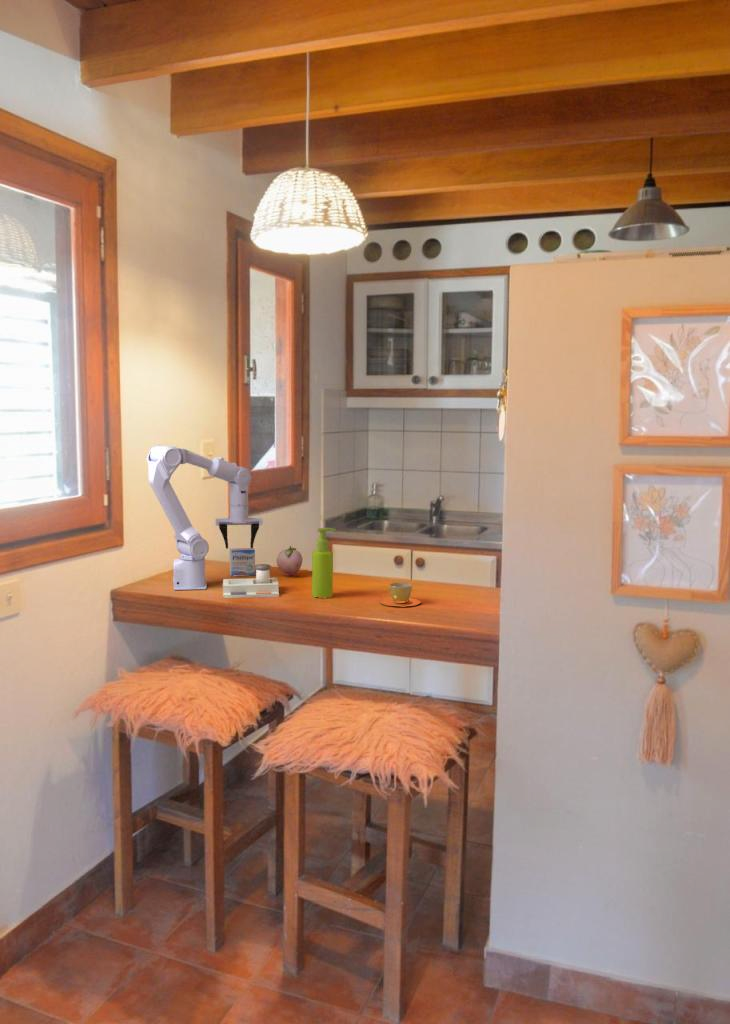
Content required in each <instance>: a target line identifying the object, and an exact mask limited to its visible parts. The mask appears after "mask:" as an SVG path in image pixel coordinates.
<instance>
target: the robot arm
mask: <svg viewBox="0 0 730 1024" xmlns="http://www.w3.org/2000/svg"><path fill="white" fill-rule="evenodd" d="M146 461H147V465H148V484H149V485H150V487H151V489H152V491H153V492H154V495H155V496H156V499H157V500H158V502H159V504H160V505H161V508H162V510H163V512H164V514H165V516H166V517H167V519H168V521H169V523H170V526H171V527H172V528H173V531H174V532H175V533H174V539H175V542H176V549H177V551H178V552H179V554H180V558H173V577H172V583H173V590H174V591H184V590H185V591H187V590H188V591H190V590H207V585H208V582H207V581H206V556H207V555H208V554H209V551H210V550H209V549H210V546H209V543H208V541H207V540H206V539H205V538H203V537H202V535H201V534H200V532H199V531H198V530H196V528H195V527H194V526H193V524H192V523H191V521H190V519H189V517H188V515H187V513H186V511H185V509H184V508H183V505H182V503H181V501H180V500H179V497H178V495H177V494H176V492H175V490H174V488H173V487H172V484H171V483H170V480H171V477H172V475H173V474H174V472H175V471H176V470H177V469H178V468H179V466H180V465H185V464H189V465H192V466H196V467H197V468H201V469H205V470H207V473H208V475H209V476H212V477H214V478H217V479H219V480H223V481H225V482H227V483H228V484H229V517H227V518H226V517H225V518H224V517H223V518H215V522H214V523H215V526H216V527H217V526H218V529H219V530H220V533H221V534H222V538H223V541H224V546H225V549H229V541H228V540H229V539H228V526H250V548H254V542H255V538H256V537H257V533H258V531H259V528H260V526H263V523H264V522H263V520H264V519H263V518H262V517H249V489H250V488H249V487H250V486H249V485H250V483H251V481H252V479H253V476H252V475H251V472H250V470H249V469H248V468H247V467H243V466H238V464H237V463H236V462H229V461H227V460H225V458H224V457H222V456H219V457H214V458H212V459H210V458H207V457H205V456H203V455H200V454H198V453H195V452H193V451H191V450H189V449H185V448H181V447H178V446H177V447H176V446H173V445H171V446H167V445H161V444H157V445H154V446H152V447H151V449H150V450H149V453H148V454H147V457H146Z"/></svg>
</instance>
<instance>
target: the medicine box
mask: <svg viewBox="0 0 730 1024" xmlns="http://www.w3.org/2000/svg"><path fill="white" fill-rule="evenodd" d="M229 575H230V577H232V576H233V575H253V576H252V577H254V576H255V577H256V549H255V548H254V547H253V548H251V547H246V548H245V547H241V548H229Z"/></svg>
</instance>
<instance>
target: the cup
mask: <svg viewBox="0 0 730 1024" xmlns="http://www.w3.org/2000/svg"><path fill="white" fill-rule="evenodd" d="M388 586H389V594H390V597H392V599H393V602H394V601H407V600H409V598H411V595H412V590H413V584H412V583H410V582H401V581H399V582H397V581H396V582H391V583H389V585H388ZM407 602H408V601H407Z"/></svg>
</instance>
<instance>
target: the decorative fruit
mask: <svg viewBox="0 0 730 1024" xmlns="http://www.w3.org/2000/svg"><path fill="white" fill-rule="evenodd" d="M276 564H277V565H276V566H277V568H278V569H279V570H280V571H281V572H282V573H284V574H286V575H287V576H289V577H292V576H294V575H295V574H297V573H298V572H299V571H300V569H301V568H302V564H303V556H302V554H301V552H300V551H299V550H297V548H295V547H292V545H290V546H289V548H287V549H283V550H281V551H280V552H279V554H278V555H277V558H276Z"/></svg>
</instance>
